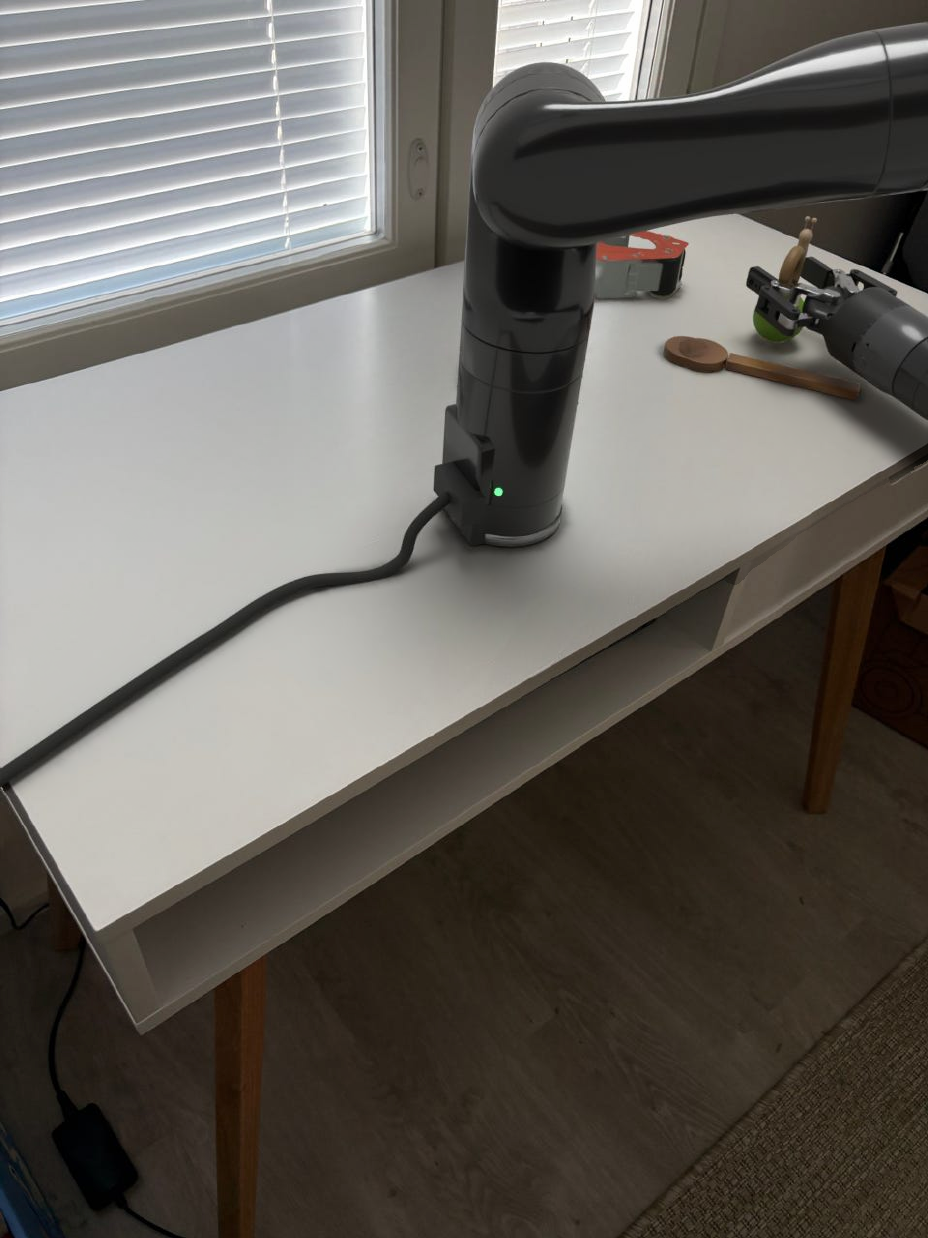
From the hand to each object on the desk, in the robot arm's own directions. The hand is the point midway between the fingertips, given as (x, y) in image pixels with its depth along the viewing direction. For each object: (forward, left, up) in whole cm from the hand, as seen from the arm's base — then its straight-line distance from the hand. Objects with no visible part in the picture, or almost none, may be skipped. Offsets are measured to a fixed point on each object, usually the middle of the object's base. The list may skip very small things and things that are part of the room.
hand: (777, 270), depth 106 cm
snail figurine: (0, -2, -6) cm, 7 cm away
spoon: (-6, -8, -6) cm, 12 cm away
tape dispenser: (-13, +13, -7) cm, 20 cm away
